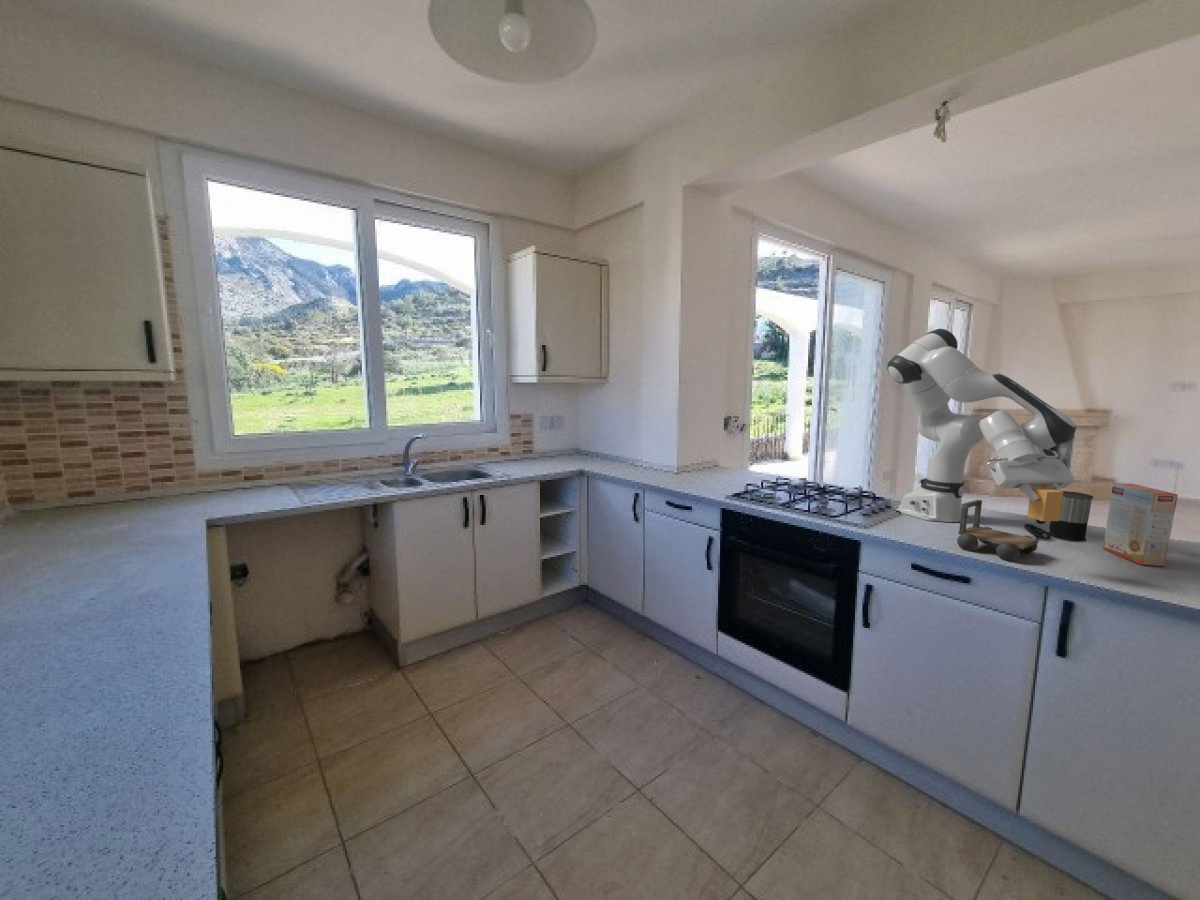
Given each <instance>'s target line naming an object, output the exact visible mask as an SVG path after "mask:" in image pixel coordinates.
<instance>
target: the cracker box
mask: <svg viewBox="0 0 1200 900" xmlns="http://www.w3.org/2000/svg"><path fill="white" fill-rule="evenodd" d="M1178 497H1179V496H1178V493H1173V492H1169V491H1165V490H1160V489H1156V488H1152V487H1149V486H1145V485H1139V484H1135V483H1122V482H1119V483H1117V482H1115V483H1113V484H1112V489H1111V495H1110V500H1109V501H1110V502H1109V508H1108V513H1107V520H1106V525H1105V526H1106V527H1105V532H1104V539H1103V545H1102V550H1105V551H1107V552H1110V553H1111V554H1114V555H1117V556H1120V557H1122V558H1124V559H1126V560H1129V561H1131V562H1134V563H1136V564H1138V565H1141V566H1150V565H1151V566H1152V567H1165V566H1166V561H1167V554H1168V550H1169V545H1170V539H1171V533H1172V529H1173V524H1174V516H1175V512H1176V506H1177V503H1178V502H1177V501H1178ZM1151 566H1150V567H1151Z"/></svg>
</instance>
